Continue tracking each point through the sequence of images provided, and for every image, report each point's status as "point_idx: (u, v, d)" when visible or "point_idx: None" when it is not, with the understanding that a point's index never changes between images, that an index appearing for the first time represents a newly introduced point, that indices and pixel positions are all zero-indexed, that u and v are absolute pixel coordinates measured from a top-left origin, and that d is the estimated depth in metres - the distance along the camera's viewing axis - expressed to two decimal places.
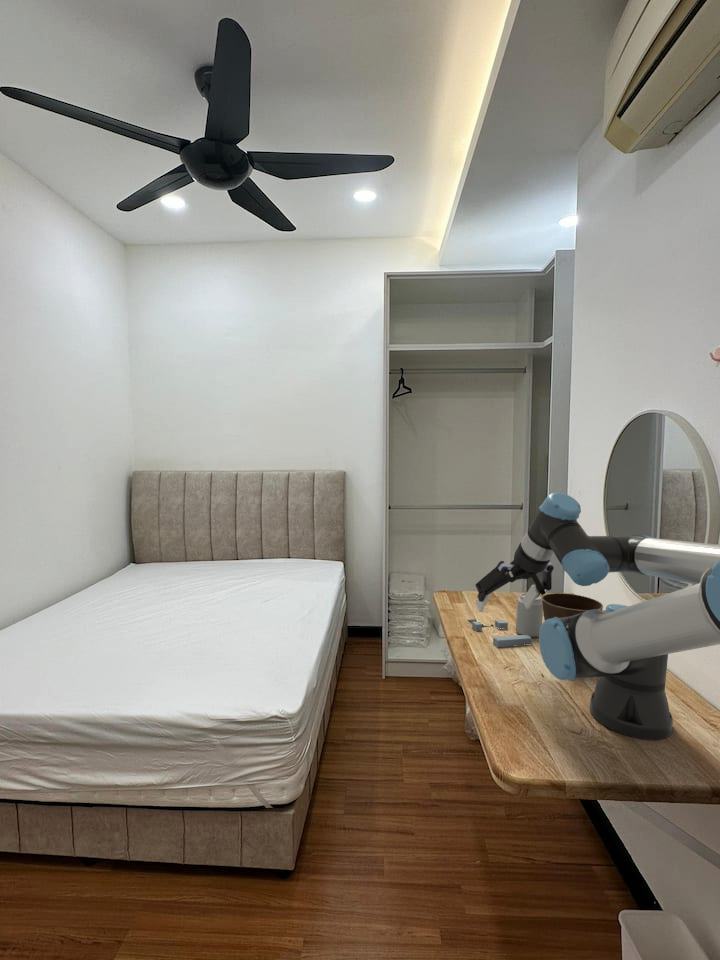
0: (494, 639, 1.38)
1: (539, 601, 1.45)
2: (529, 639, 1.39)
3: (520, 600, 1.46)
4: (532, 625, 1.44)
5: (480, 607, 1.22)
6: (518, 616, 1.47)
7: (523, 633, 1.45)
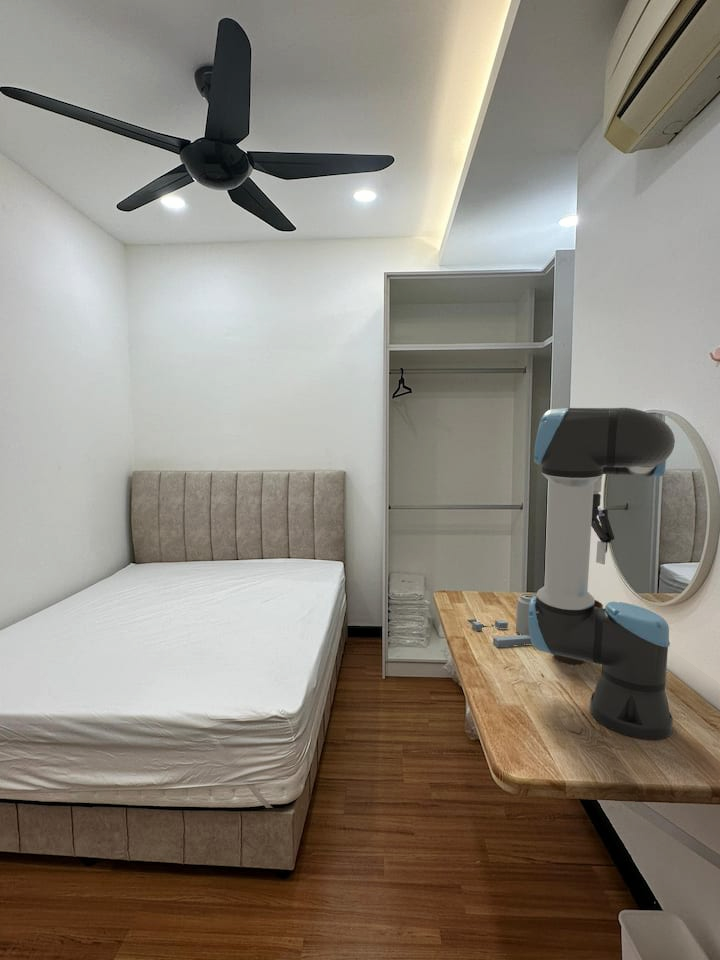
0: (494, 639, 1.38)
1: None
2: (529, 639, 1.39)
3: (520, 600, 1.46)
4: None
5: None
6: (518, 616, 1.47)
7: (523, 633, 1.45)
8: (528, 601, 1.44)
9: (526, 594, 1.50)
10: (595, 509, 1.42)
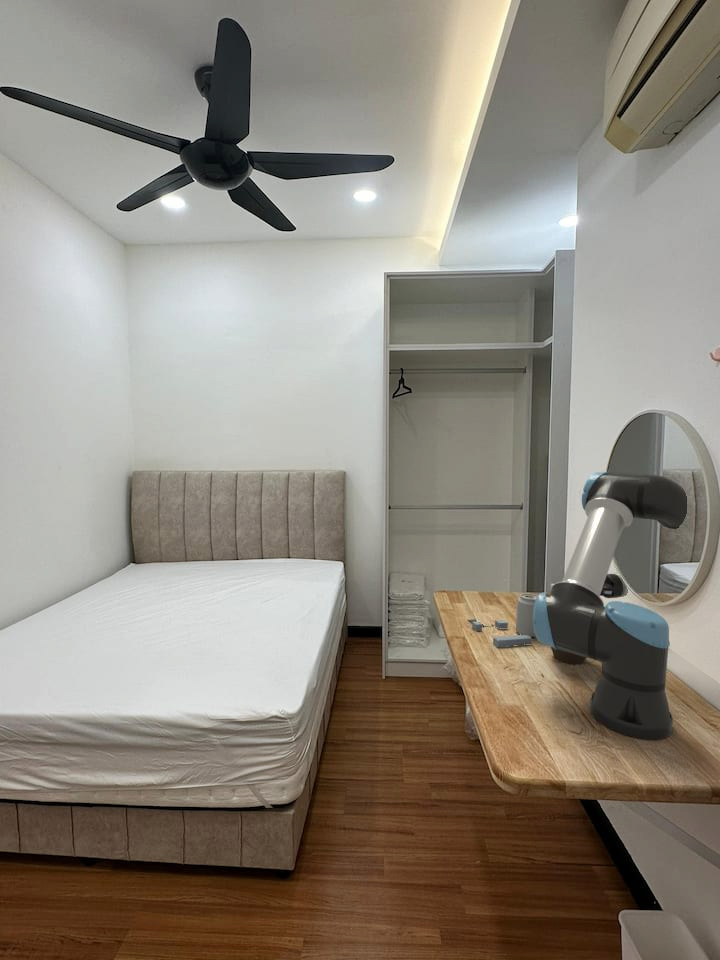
0: (494, 639, 1.38)
1: None
2: (529, 639, 1.39)
3: (520, 600, 1.46)
4: (532, 625, 1.44)
5: None
6: (518, 616, 1.47)
7: (523, 633, 1.45)
8: (528, 601, 1.44)
9: (526, 594, 1.50)
10: (610, 585, 1.51)
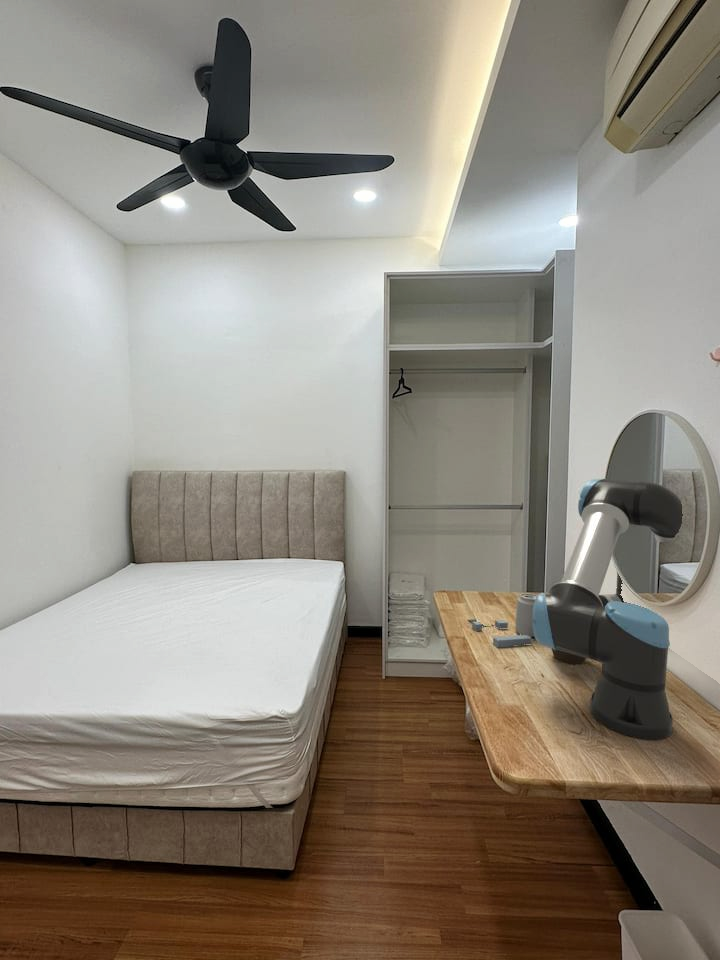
0: (494, 639, 1.38)
1: None
2: (529, 639, 1.39)
3: (520, 600, 1.46)
4: (532, 625, 1.44)
5: None
6: (518, 616, 1.47)
7: (523, 633, 1.45)
8: (528, 601, 1.44)
9: (526, 594, 1.50)
10: None
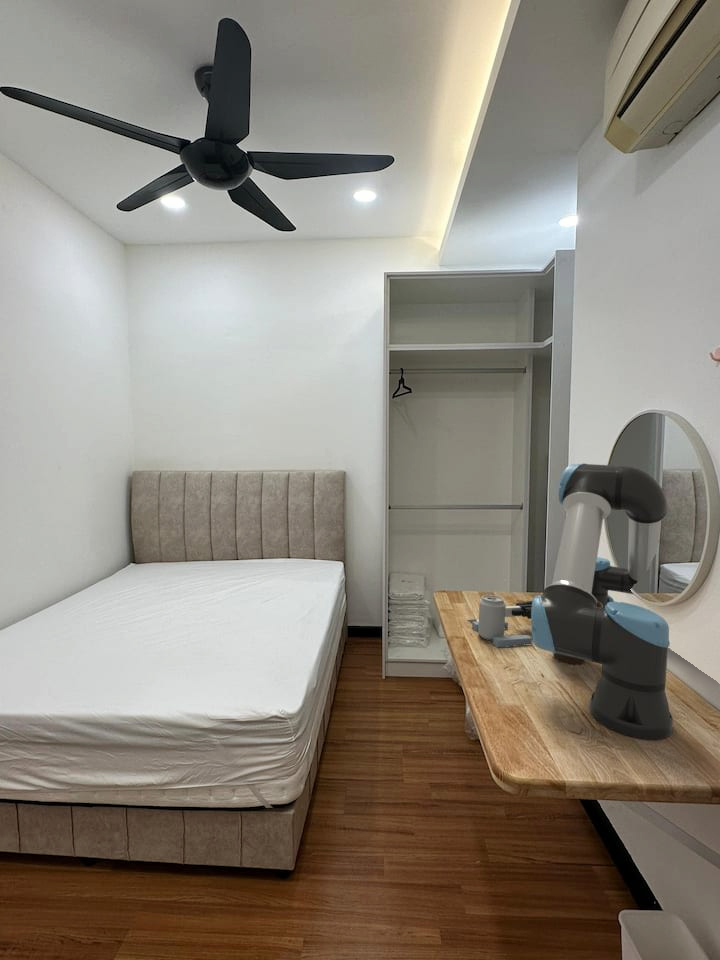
0: (494, 639, 1.38)
1: (501, 603, 1.41)
2: (529, 639, 1.39)
3: (482, 602, 1.43)
4: (494, 627, 1.40)
5: None
6: (480, 618, 1.43)
7: (485, 636, 1.41)
8: (490, 603, 1.41)
9: (488, 596, 1.46)
10: None
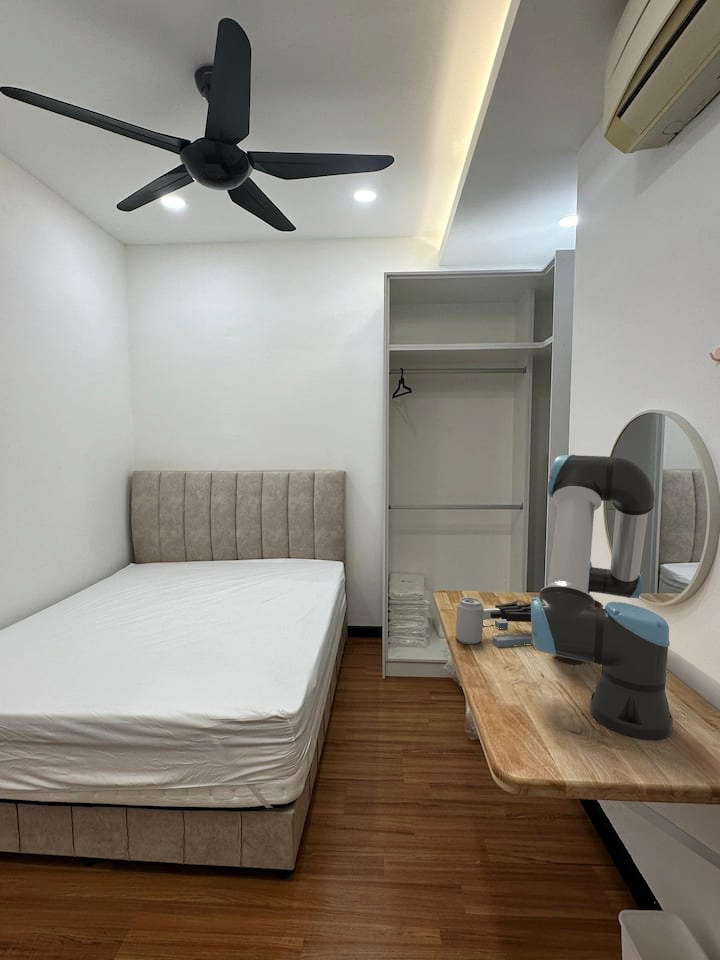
0: (494, 639, 1.38)
1: (479, 606, 1.38)
2: (529, 639, 1.39)
3: (459, 605, 1.39)
4: (471, 631, 1.37)
5: None
6: (457, 622, 1.40)
7: (462, 639, 1.38)
8: (467, 606, 1.37)
9: (466, 598, 1.43)
10: None
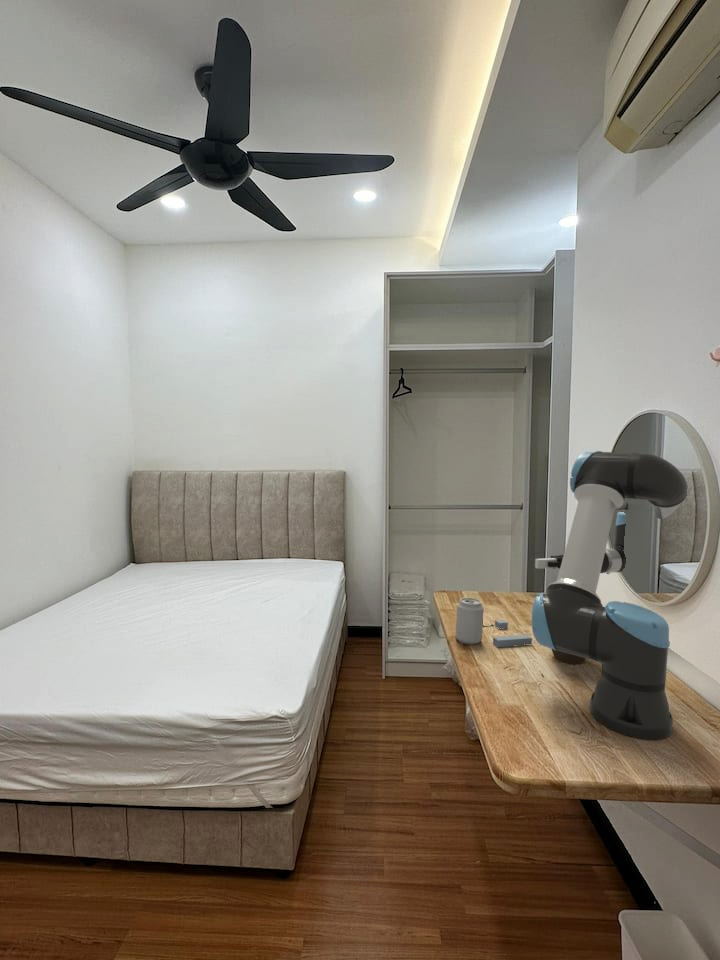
0: (494, 639, 1.38)
1: (479, 606, 1.38)
2: (529, 639, 1.39)
3: (459, 605, 1.39)
4: (471, 631, 1.37)
5: None
6: (457, 622, 1.40)
7: (462, 640, 1.38)
8: (467, 606, 1.37)
9: (466, 598, 1.43)
10: None
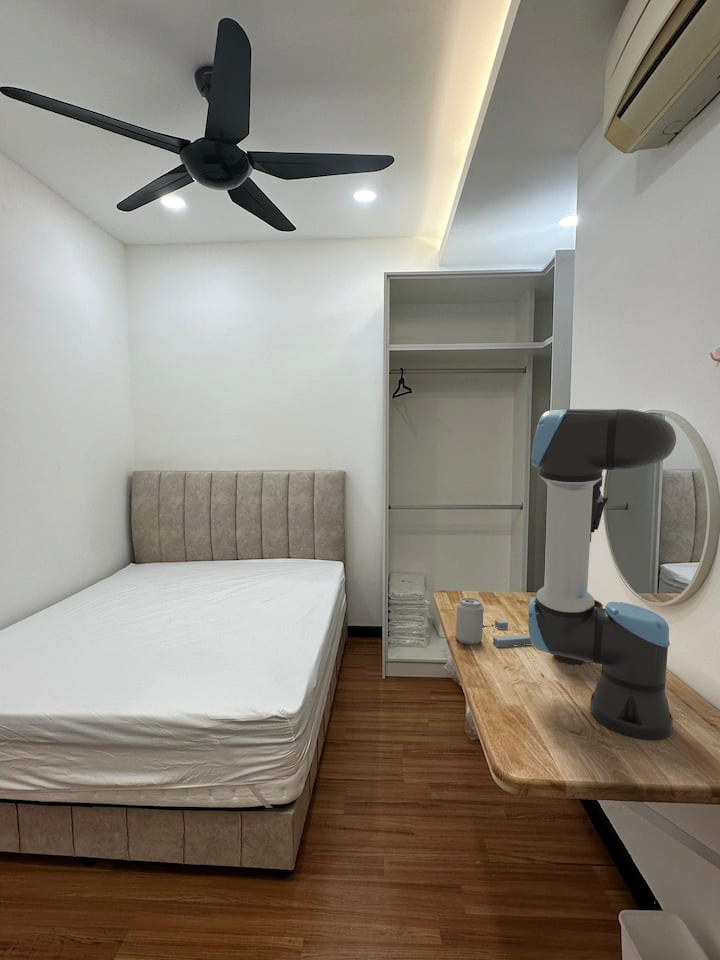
0: (494, 639, 1.38)
1: (479, 606, 1.38)
2: (529, 639, 1.39)
3: (459, 605, 1.39)
4: (471, 631, 1.37)
5: None
6: (457, 622, 1.40)
7: (462, 640, 1.38)
8: (467, 606, 1.37)
9: (466, 598, 1.43)
10: (599, 490, 1.40)
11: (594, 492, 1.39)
